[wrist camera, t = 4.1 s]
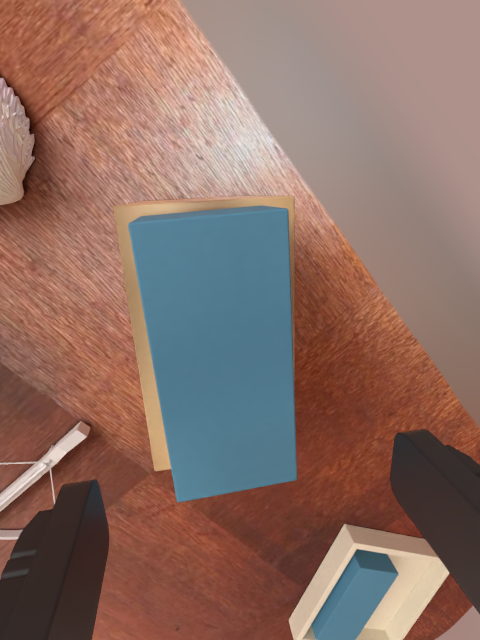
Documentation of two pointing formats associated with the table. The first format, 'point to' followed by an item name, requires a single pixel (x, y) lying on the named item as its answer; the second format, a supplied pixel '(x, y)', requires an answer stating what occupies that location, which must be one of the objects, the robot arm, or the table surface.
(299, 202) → the table surface
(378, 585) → the blue brick
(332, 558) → the cream tray
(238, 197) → the tan wooden block
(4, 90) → the seashell
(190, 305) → the blue rectangular block
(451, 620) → the table surface
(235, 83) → the table surface
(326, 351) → the table surface
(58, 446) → the crossbow
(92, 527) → the robot arm
